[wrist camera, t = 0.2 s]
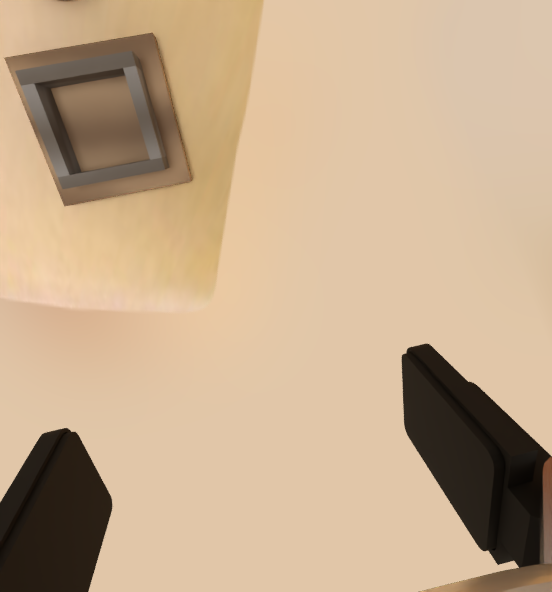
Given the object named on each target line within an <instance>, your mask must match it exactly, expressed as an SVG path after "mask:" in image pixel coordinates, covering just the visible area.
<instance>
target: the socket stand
mask: <svg viewBox="0 0 552 592" xmlns="http://www.w3.org/2000/svg"><path fill="white" fill-rule="evenodd" d="M5 61H6V63H7V66H8V68H9V71H10V73H11V75H12V78H13V80H14V83H15V85H16V88H17V90H18V93H19V95H20V98H21V100H22V103H23V105H24V107H25V110H26V112H27V115H28V117H29V120H30V122H31V125H32V127H33V130H34V132H35V135H36V137H37V139H38V142H39V144H40V147H41V149H42V152H43V154H44V157H45V159H46V162H47V164H48V167H49V169H50V171H51V174H52V176H53V179H54V181H55V184H56V186H57V189H58V191H59V194H60V196H61V199H62V201H63V204H64V206H68V205H73V204H78V203H83V202H88V201H94V200H99V199H104V198H109V197H114V196H119V195H124V194H129V193H135V192H140V191H145V190H150V189H155V188H160V187H165V186H171V185H176V184H181V183H186V182H191V181H192V178H191V175H190V171H189V167H188V163H187V159H186V155H185V151H184V147H183V143H182V139H181V136H180V132H179V128H178V124H177V120H176V116H175V112H174V108H173V104H172V100H171V96H170V93H169V89H168V85H167V81H166V77H165V73H164V69H163V65H162V61H161V57H160V54H159V50H158V46H157V42H156V38H155V36H154V34H153V33H148V34H143V35H137V36H131V37H125V38H119V39H113V40H107V41H101V42H95V43H89V44H83V45H77V46H71V47H66V48H60V49H54V50H48V51H42V52H36V53H30V54H24V55H18V56H12V57H6V58H5Z"/></svg>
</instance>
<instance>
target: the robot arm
mask: <svg viewBox="0 0 552 592" xmlns="http://www.w3.org/2000/svg"><path fill="white" fill-rule="evenodd" d="M402 378H403V404H404V425H405V429H406V432H407V435H408V436H409V438H410V440H411V441H412V443H413V445H414V446H415V448H416V449H417V451H418V452H419V454H420V455H421V457H422V459H423V460H424V462H425V463H426V465H427V467H428V468H429V470H430V471H431V473H432V474H433V476H434V478H435V479H436V481H437V482H438V484H439V485H440V487H441V489H442V490H443V492H444V493H445V495H446V496H447V498H448V500H449V501H450V503H451V504H452V506H453V507H454V509H455V510H456V512H457V514H458V515H459V517H460V518H461V520H462V522H463V523H464V525H465V526H466V528H467V529H468V531H469V532H470V534H471V536H472V537H473V539H474V540H475V542H476V543H477V545H478V546H479V548H480V549H481V550H483V551H487V550H488V551H489V552H490V554H491V555H492V556H493V558H494V560H495V561H496V563H497V564H498V565H499V564H502V563H506V562H510V561H515V562H516V564H517V565H518V567H519V568H516V569H510V570H505V571H500V572H496V573H492V574H488V575H484V576H480V577H476V578H471V579H468V580H463V581H459V582H456V583H451V584H447V585H444V586H439V587H435V588H431V589H427V590H424V591H420V592H552V456H551V455H549V453H547V452H546V451H545V450H544V449H543V448H542V447H541V446H540V445H539V444H538V443H537V442H536V441H535V440H534V439H533V438H532V437H530V435H529V434H528V433H526V432H525V431H524V430H523V429H522V428H521V427H520V426H519V425H518V424H517V423H516V422H515V421H514V420H513V419H512V418H511V417H510V416H509V415H508V414H507V413H506V412H504V411H503V410H502V409H501V408H500V407H499V406H498V405H497V404H496V403H495V402H494V401H493V400H492V399H491V398H490V397H489V396H488V395H487V394H485V392H483V391H482V390H481V389H480V388H479V387H478V386H477V385H476V384H474V383H472V382H468V381H467V380H466V379H465V378H464V377H463V376H461V375H460V374H459V372H457V371H456V370H455V369H454V368H453V367H452V366H451V365H450V364H449V363H448V362H447V361H446V360H445V359H444V358H443V357H442V356H441V355H440V354H439V353H438V352H437V351H436V350H435V349H434V348H433V347H432V346H431V345H429V344H423V345H419V346H414V347H410V348H408V349H407V354H403V355H402ZM111 511H112V499H111V496H110V494H109V492H108V490H107V488H106V486H105V484H104V483H103V481H102V479H101V477H100V475H99V473H98V471H97V470H96V468H95V466H94V464H93V462H92V460H91V458H90V456H89V454H88V453H87V451H86V449H85V447H84V445H83V443H82V441H81V439H80V437H79V435H78V434H77V433H76V432H71V431H70V430H69V429H68V428H64V429H59V430H55V431H51V432H47V433H44V434H42V435H41V437H40V438H39V440H38V441H37V443H36V444H35V446H34V448H33V449H32V451H31V453H30V454H29V456H28V458H27V459H26V461H25V463H24V464H23V466H22V468H21V469H20V471H19V473H18V474H17V476H16V478H15V479H14V481H13V483H12V484H11V486H10V487H9V489H8V491H7V493H6V494H5V496H4V497H3V499H2V501H1V502H0V592H88V591H89V587H90V584H91V580H92V577H93V573H94V570H95V566H96V563H97V560H98V556H99V553H100V549H101V546H102V542H103V539H104V535H105V532H106V529H107V525H108V521H109V518H110V515H111Z"/></svg>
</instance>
